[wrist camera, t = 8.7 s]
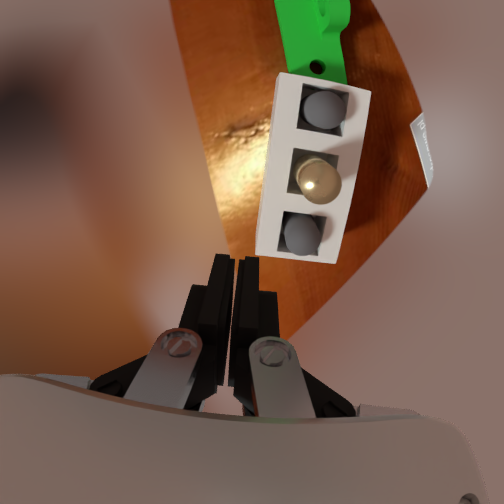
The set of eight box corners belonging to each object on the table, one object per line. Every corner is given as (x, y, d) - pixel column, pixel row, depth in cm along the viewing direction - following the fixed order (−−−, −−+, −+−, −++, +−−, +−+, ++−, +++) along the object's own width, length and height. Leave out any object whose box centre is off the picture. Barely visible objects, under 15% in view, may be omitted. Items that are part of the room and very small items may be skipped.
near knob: (300, 91, 29) (309, 87, 24) (332, 97, 29) (348, 95, 24) (296, 122, 31) (304, 125, 25) (328, 128, 31) (342, 132, 25)
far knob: (284, 202, 35) (288, 221, 29) (314, 206, 35) (324, 225, 30) (279, 231, 36) (283, 253, 31) (308, 234, 36) (317, 257, 31)
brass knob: (295, 151, 29) (304, 160, 24) (329, 156, 29) (345, 167, 24) (290, 184, 31) (297, 201, 26) (323, 189, 31) (337, 207, 26)
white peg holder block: (276, 78, 30) (280, 72, 24) (353, 93, 30) (371, 91, 25) (255, 232, 38) (255, 254, 33) (325, 241, 38) (335, 263, 33)
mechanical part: (274, 1, 25) (278, -27, 18) (325, -1, 25) (341, -27, 17) (291, 93, 30) (302, 86, 23) (343, 89, 30) (366, 83, 22)
